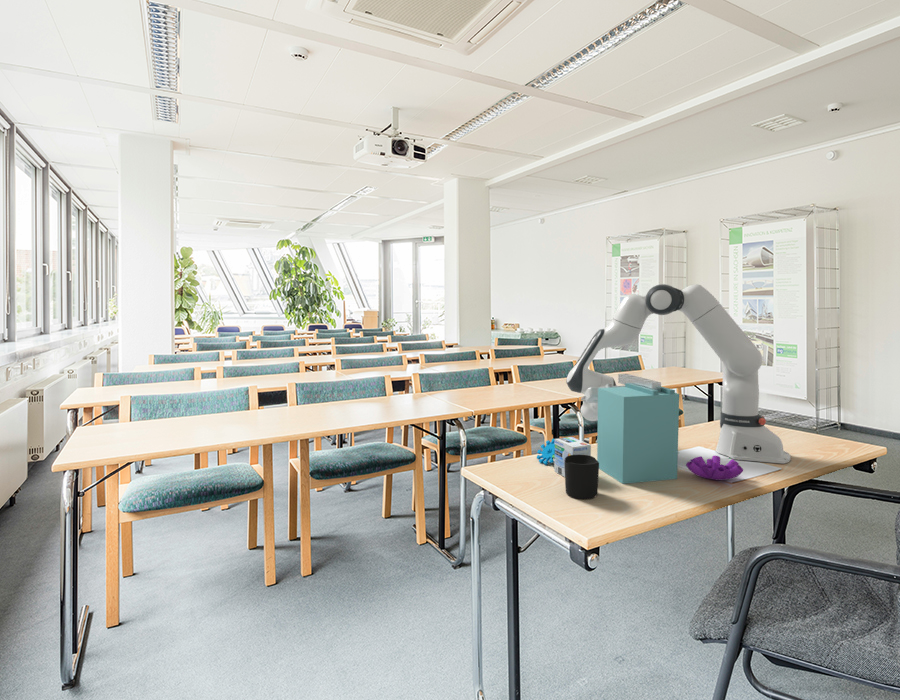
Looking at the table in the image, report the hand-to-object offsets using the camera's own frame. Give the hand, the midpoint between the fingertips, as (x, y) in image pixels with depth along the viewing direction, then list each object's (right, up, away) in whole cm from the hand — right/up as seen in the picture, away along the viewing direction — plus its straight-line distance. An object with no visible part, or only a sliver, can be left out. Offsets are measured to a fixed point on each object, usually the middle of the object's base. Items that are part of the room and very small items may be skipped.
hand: (622, 385), depth 179 cm
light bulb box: (-21, -27, -15) cm, 37 cm away
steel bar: (+2, 0, -10) cm, 10 cm away
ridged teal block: (-1, -27, -14) cm, 30 cm away
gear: (-25, -26, -2) cm, 36 cm away
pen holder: (-22, -29, -31) cm, 48 cm away
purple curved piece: (+21, -27, -20) cm, 40 cm away
